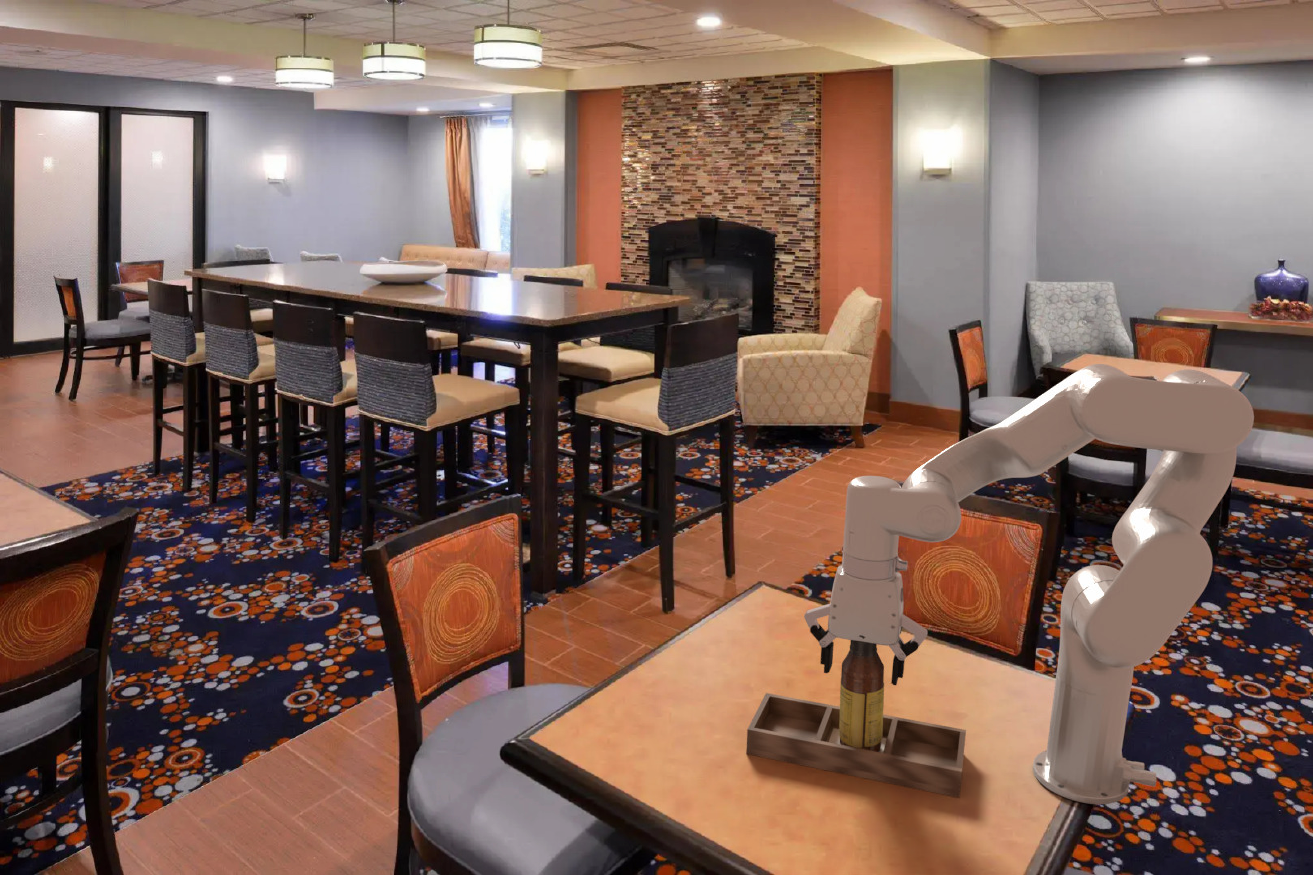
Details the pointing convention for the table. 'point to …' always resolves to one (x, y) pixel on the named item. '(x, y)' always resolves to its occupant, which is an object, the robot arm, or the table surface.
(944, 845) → the table surface
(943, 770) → the walnut rack
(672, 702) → the table surface
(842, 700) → the sauce bottle
